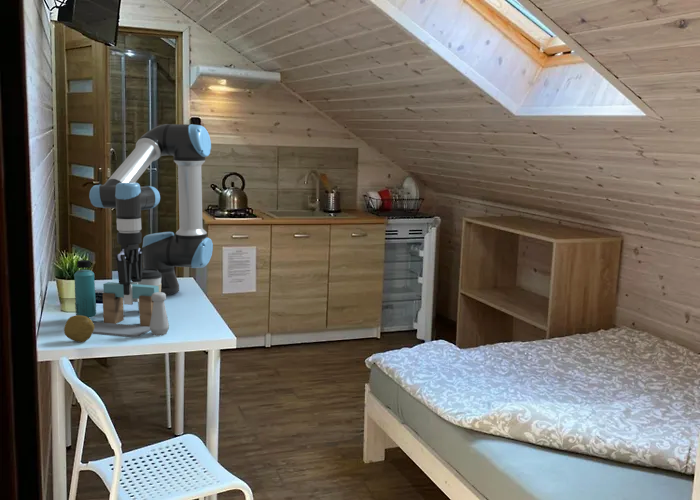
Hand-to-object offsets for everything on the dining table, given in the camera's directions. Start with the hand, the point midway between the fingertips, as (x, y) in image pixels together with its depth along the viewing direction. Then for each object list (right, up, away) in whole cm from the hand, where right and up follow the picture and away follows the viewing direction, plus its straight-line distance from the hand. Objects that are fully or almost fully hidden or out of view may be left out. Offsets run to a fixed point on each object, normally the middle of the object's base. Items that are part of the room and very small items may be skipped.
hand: (131, 302), depth 228 cm
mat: (-2, -8, -8) cm, 11 cm away
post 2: (+6, -7, -1) cm, 9 cm away
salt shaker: (+12, -9, -11) cm, 18 cm away
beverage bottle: (-16, -6, +3) cm, 18 cm away
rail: (0, +2, 0) cm, 2 cm away
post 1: (-6, -6, +2) cm, 9 cm away
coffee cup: (+1, -5, +16) cm, 16 cm away
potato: (-9, -10, -20) cm, 24 cm away
